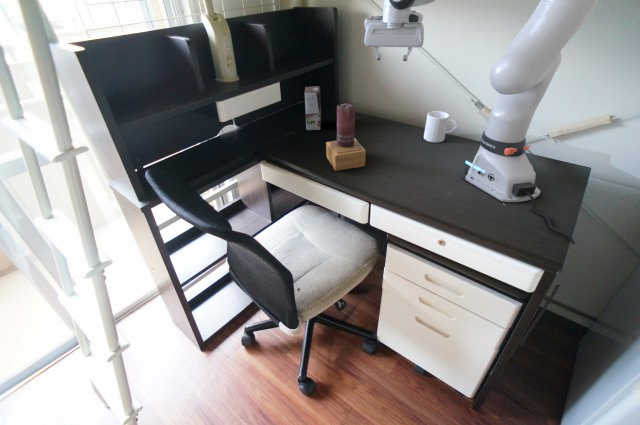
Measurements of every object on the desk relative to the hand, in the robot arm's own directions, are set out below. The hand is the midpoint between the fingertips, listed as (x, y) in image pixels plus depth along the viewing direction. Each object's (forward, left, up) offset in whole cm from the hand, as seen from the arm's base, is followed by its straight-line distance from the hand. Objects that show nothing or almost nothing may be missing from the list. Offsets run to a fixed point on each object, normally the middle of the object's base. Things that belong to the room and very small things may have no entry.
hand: (391, 60), depth 117 cm
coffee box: (+20, +25, -29) cm, 43 cm away
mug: (-10, -19, -29) cm, 36 cm away
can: (-14, +22, -23) cm, 35 cm away
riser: (-15, +22, -29) cm, 40 cm away
